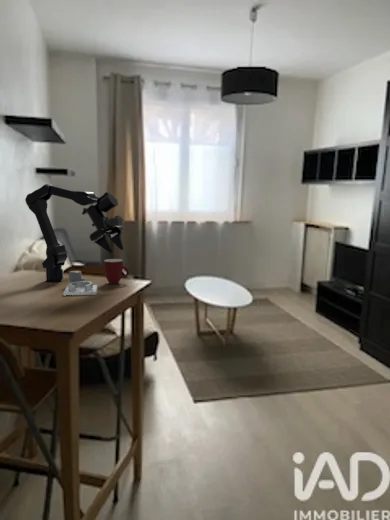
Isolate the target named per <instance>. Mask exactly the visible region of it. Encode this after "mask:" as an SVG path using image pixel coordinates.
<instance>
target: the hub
mask: <svg viewBox="0 0 390 520" xmlns="http://www.w3.org/2000/svg"><path fill="white" fill-rule="evenodd" d="M97 292H98V284H93V282H92V281H89V280H88V281H87V280H85V281H76V282H71V283H70V284H69V283H68V285H66V287H65V289H64V290H63V296H64V297H67V296H66V295H70V296H71V295H72V296H95V295H97Z"/></svg>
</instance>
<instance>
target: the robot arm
mask: <svg viewBox="0 0 390 520" xmlns="http://www.w3.org/2000/svg"><path fill="white" fill-rule="evenodd" d="M53 196H56V197H59V198H64V199H67V200H71V201H73V202H74V203H76V204H78V205H80V206H82V207H83V206H88V207H83V209H82V213H81V215H83V216H84V215H88V217H89V218H90V220H91V222H92V224H91V226H92V227H93V228H94V227H95V229H96V230H95V231H93V232H92V233H91V234H89V238H88V239H89V240H90V242H91V243H92V242H93V243H94V244H97V245H98V246H99V247H101V248H103V249H104V250H105V251H106V252H108V253H109V254H112V253H113V252H114V250H113V248H112V246H111V244H110V242H109V240H110V241H111V242H112V243H113V244H114V245H115V246H116V247H117V248H118V249H120V251H123V250H124V245H123V241H122V235H123V233H124V231H125V230H124V228H123V226H122V225H124V224H123V223H124V219H123V217H122V216H121V215H115V216H114V217H113V218H110V217H109V216H106V215H105V214H104V213H106V214H107V213H109V212H110V211H111V210H114V209H115V208H116V207H118V206H119V203H118V199H117V198H116V197H114V195H113V194H111V193H110V191H106V192H104V193H103V194H102V195H101V196H98V195H96V193H95V192H93V191H89V190H88V191H84V190H83V191H82V190H81V191H80V190H73V189H69V188H66V187H62V186H58V185H55V184H50V183H49V184H48V183H47V184H43V185H42V186H41V187H39V188H37V189H35V190H34V191H32V192H31V193H28V194H27V195H26V197H25V203H26V206H27V207H28V208H29V210H30V211H31V212H32V213H33V214H34V217H35V218H36V221H37V223H38V226H39V228H40V232H41V234H42V238H43V239H44V243H45V245H46V250H45V255H46V258H45V259H44V260H43V261H42V263H41V264H42V265H41V266H42V268H43V269H45V277H46V279H45V283H46V282H47V283H48V282H49V283H51V282H54V283H56V282H62V281H63V280H64V269H63V268H62V267H63V266H65V264H66V261H67V259H68V251H67V250H66V245H65V244H60V243H59V242H58V238H57V236H56V234H55V231H54V228H53V225H52V223H51V220H50V217H49V214H48V201H49V200H50V199H51V197H53ZM108 238H109V239H108Z"/></svg>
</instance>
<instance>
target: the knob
mask: <svg viewBox="0 0 390 520" xmlns="http://www.w3.org/2000/svg"><path fill="white" fill-rule="evenodd" d="M76 281H86V278H85V277H82V271H80V270H70V271H68V285H69V284H70V283H71V282H76Z"/></svg>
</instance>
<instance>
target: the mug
mask: <svg viewBox="0 0 390 520" xmlns="http://www.w3.org/2000/svg"><path fill="white" fill-rule="evenodd" d="M124 269H125V270H126V274H125V275H123V270H124ZM103 270H104V274H105V278H106V280H107V282H108V284H110V283H111V284H110V285H117V283H118V284H119V283H120V281H121V279H122V278H123V279H124V278H126V277H128V276H129V274H130V270H129V268H128V266H126V265H124V259H120V258H107V259H104V260H103Z"/></svg>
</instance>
